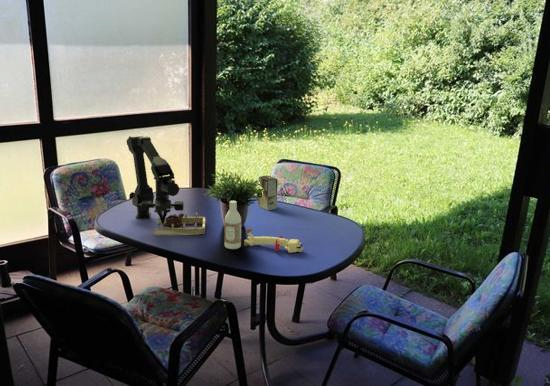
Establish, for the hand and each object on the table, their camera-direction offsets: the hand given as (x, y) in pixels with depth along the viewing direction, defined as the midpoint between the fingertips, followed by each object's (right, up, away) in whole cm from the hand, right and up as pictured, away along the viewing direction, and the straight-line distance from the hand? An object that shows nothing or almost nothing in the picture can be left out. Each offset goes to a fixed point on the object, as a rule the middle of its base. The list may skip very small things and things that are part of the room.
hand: (163, 223), depth 222 cm
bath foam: (+33, -9, -14) cm, 37 cm away
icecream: (+4, -3, +2) cm, 6 cm away
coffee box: (+47, +6, +35) cm, 59 cm away
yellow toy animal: (+50, -10, -15) cm, 53 cm away
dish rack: (+8, -2, +3) cm, 8 cm away
